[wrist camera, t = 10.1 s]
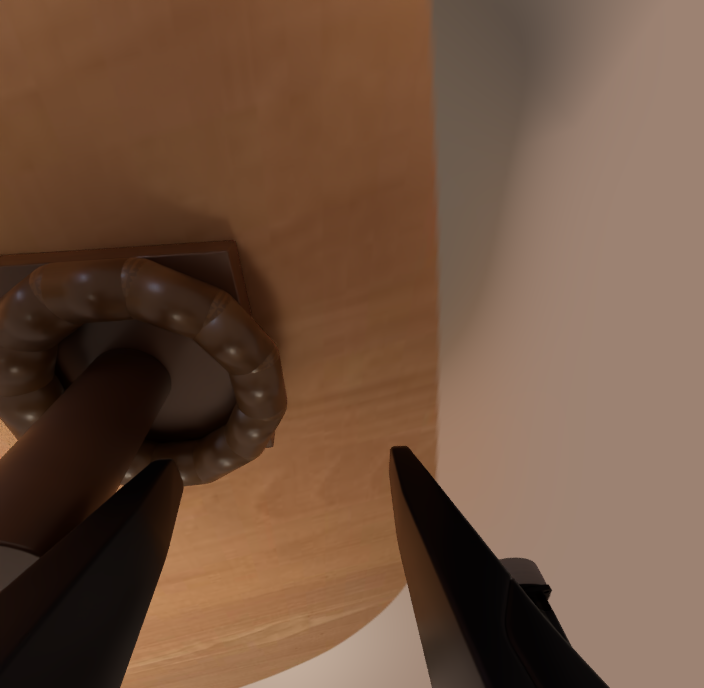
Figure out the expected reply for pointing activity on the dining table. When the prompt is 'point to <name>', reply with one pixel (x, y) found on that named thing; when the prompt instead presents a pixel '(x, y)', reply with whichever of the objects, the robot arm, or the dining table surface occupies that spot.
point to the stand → (109, 403)
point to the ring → (155, 309)
